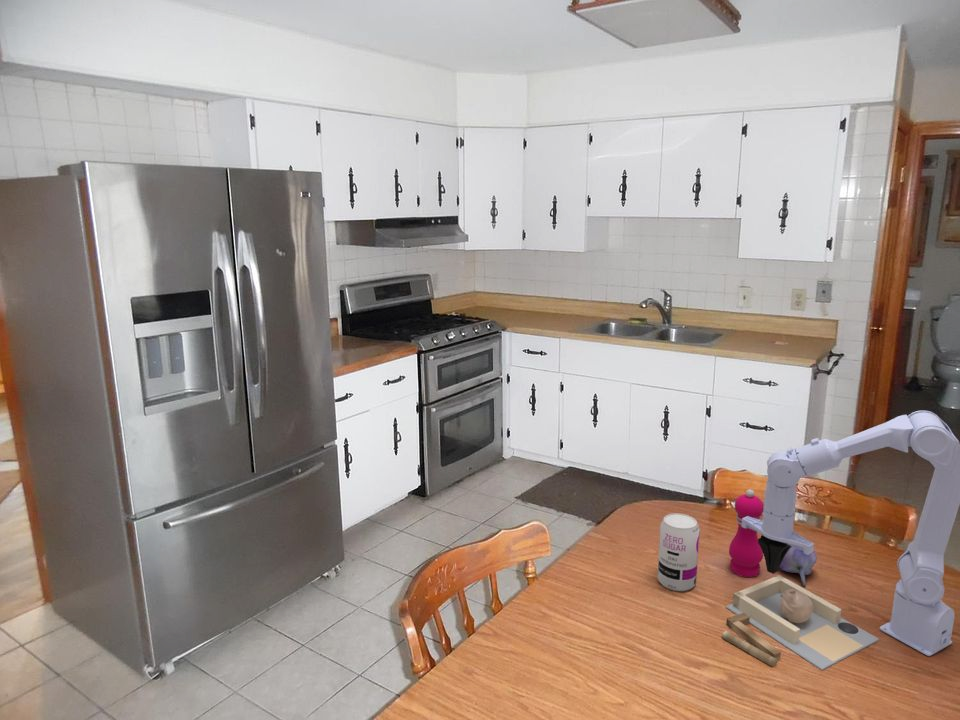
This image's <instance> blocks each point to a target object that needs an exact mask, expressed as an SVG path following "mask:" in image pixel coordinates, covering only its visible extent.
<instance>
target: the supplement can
mask: <svg viewBox="0 0 960 720" xmlns="http://www.w3.org/2000/svg"><path fill="white" fill-rule="evenodd" d="M700 532H701V528H700V527H699V525H698V521H697V519H695V518H694V517H692V515H691V516H690V515H688V514H684V513H677V512H676V513H674V512H673V513H669V514H667V515H665V516H664V517H663V519H662V521H661V523H660V525H659V542H658V543H659V544H658V559H657V560H658V562H657V563H658V564H657V581H658V582H660V584H661V585H662V586H663V587H664V588H666V589H668V590H671V591H674V592H687V591H689V590H691V589H693V588H694V587H695V586H696V584H697V578H698V577H697V576H698V563H699V562H698V561H699V560H698V559H699V549H700V548H699V547H700Z"/></svg>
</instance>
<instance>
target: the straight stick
mask: <svg viewBox="0 0 960 720" xmlns="http://www.w3.org/2000/svg"><path fill="white" fill-rule="evenodd" d="M721 637H722V638H723V639H724V640H725V641H727V642H729V643H730V644H732V645H734V646H735V647H737V648H739V649H741V650H742V651H744V652H746V653H748V654H749V655H751V656H753V657H755V658H756V659H758V660H760V661H761V662H763V663H765V664H767V665H768V666H771V667H772V668H774V667H775V666H776V665H777V663H778V660H777V659H776V658H774V657H772V656H770V655H769V654H767V653H765V652H763V651H761V650H760V649H758V648H756V647H754V646H753V645H752V644H750V643H749V642H748V641H746V640H745V639H743V638H742V639H741V638H740V637H738V636H736V635H735V634H733V633H732V632H729V631H728V630H724V631H722V634H721Z"/></svg>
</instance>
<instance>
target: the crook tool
mask: <svg viewBox="0 0 960 720" xmlns="http://www.w3.org/2000/svg"><path fill="white" fill-rule="evenodd" d="M749 619H750V617H749V616H747V615H746V614H745V613H742V614H739V615H736V614H735V615H733V616H731V617H727V618H726V622H725V623H726V624H725V625H726V627H728V628H729V629H730V630H732V631H733V632H734V633H736V634H737V635H739V636H740V637H741V638H742V639H743V640H744V641H745V642H747V643H749V644H751V645H753V646H754V647H756V648H758V649H760V650H761V651H763V652H765V653H767V654H769V655H770V656H772V657H774V658H776V659H777V661H779V660H781V655H782V652H781V651H780V649H778V648H776V647H775V646H773V645H772V644H770V643H769V642H768V641H767V640H765V639H764V638H763V637H761V636H760V635H759V634H757V633H756V632H754V631H753V630H752V629H751V628H750V627H748V626H747V625H749V624H750V623H749Z"/></svg>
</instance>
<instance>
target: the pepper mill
mask: <svg viewBox="0 0 960 720" xmlns="http://www.w3.org/2000/svg"><path fill="white" fill-rule="evenodd" d="M734 510H735V512H736V514H735V515H736V519H735V520H736V523H737V525H738V527H737V531H736V534H735V536H734V537H733V538H732V540H731V542H730V543H729V546H728V547H729V548H728V554H729V557H730V558H731V559H730V563H729V565H730V567H729V568H730V570H731V571H732V573H733V574H735V575H737V576H740V577H744V578H753V577H757V576H758V575H759V574H760V569H761V564H760V563H761V562H762V560H763V559H764V558H763V557H764V554H763V552H762V549H761V547H760V545H759V544H758V539H759V537H758V532H757V531H754V530H752V529H749V528H743V527H741V526H742V519H743V518H745V517H747V516H749V517H751V518H755V519H759V520H761V516H763V510H764V502H763V501H762V499H760V497H758V496H756V495H755V491H754V490H753V489H750V488H749V489H747V490H746V491H745V494H742V495H740V496H738V497H737V498H736V500H735V501H734Z"/></svg>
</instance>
